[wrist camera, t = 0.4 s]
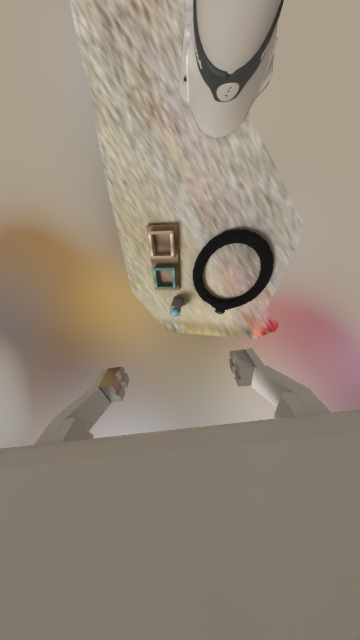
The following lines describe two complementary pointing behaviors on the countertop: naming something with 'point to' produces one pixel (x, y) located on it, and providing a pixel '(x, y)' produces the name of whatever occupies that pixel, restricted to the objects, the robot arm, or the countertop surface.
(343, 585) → the robot arm
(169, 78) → the countertop surface
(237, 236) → the cable lock
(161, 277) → the brown divided tray
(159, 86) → the countertop surface
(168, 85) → the countertop surface
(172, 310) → the knob
